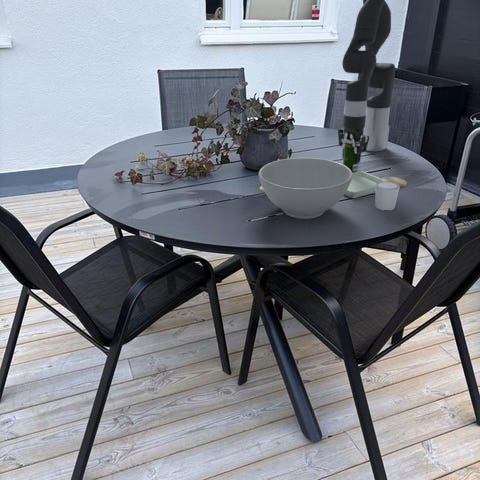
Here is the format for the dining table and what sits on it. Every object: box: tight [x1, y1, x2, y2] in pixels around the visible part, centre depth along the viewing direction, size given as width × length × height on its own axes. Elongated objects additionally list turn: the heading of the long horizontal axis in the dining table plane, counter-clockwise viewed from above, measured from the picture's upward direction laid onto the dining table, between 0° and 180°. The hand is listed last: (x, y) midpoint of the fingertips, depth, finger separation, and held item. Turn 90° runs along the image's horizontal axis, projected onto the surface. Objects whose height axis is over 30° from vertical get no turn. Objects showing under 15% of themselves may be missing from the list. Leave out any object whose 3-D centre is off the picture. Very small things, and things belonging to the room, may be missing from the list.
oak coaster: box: [381, 176, 408, 189], centre depth 155 cm, size 9×9×1 cm
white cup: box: [374, 181, 401, 211], centre depth 137 cm, size 7×7×7 cm
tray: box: [343, 170, 386, 200], centre depth 153 cm, size 16×14×2 cm
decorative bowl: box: [258, 157, 353, 220], centre depth 135 cm, size 27×27×12 cm
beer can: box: [342, 138, 360, 173], centre depth 164 cm, size 5×5×12 cm
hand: (350, 160), depth 165 cm, fingers closed on beer can, 5 cm apart
